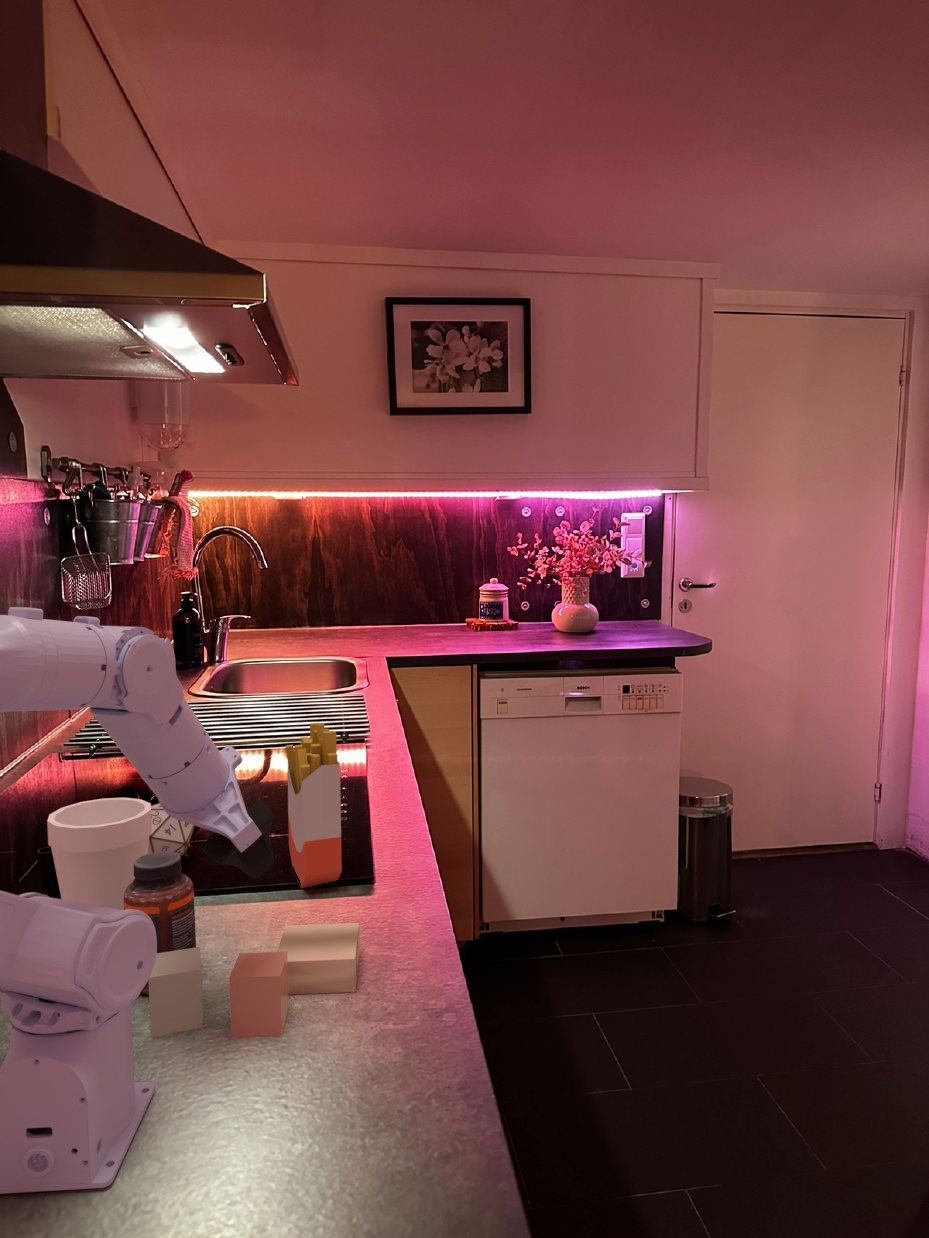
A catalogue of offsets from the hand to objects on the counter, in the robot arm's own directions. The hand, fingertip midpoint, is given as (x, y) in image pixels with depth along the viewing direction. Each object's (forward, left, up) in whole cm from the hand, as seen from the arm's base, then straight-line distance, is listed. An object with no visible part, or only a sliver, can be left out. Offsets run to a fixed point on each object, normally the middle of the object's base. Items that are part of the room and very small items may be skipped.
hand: (239, 844), depth 72 cm
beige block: (-5, +5, -13) cm, 15 cm away
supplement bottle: (+2, +8, -13) cm, 15 cm away
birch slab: (+2, -6, -13) cm, 15 cm away
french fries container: (+24, -3, -13) cm, 28 cm away
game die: (+30, +15, -13) cm, 37 cm away
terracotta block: (-6, -2, -13) cm, 14 cm away
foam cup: (+10, +15, -13) cm, 23 cm away
